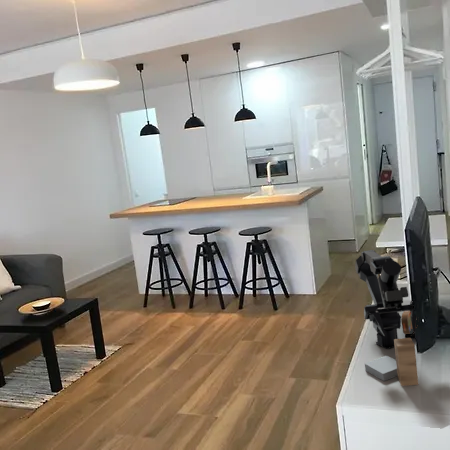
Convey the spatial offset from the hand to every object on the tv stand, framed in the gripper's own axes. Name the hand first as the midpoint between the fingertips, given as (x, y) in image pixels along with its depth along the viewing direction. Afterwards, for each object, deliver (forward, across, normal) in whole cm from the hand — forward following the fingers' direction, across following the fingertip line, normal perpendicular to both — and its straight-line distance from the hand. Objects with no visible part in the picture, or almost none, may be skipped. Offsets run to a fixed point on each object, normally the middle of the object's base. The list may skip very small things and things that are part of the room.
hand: (399, 334), depth 160 cm
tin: (-13, +9, +31) cm, 35 cm away
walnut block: (+14, 0, +4) cm, 14 cm away
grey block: (+8, -5, +9) cm, 14 cm away
